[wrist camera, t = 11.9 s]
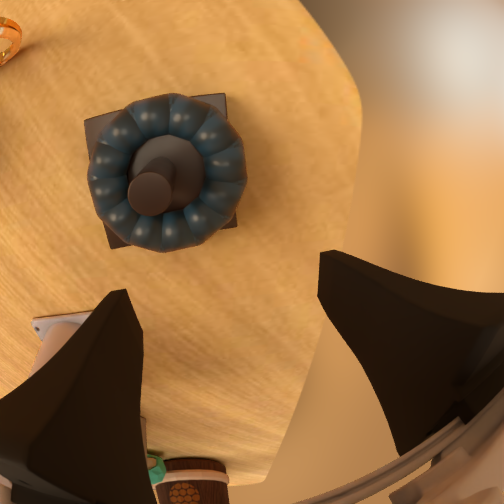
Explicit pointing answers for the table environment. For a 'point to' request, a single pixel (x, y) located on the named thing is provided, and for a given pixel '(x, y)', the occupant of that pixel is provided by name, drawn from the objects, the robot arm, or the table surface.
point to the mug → (193, 482)
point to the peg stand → (160, 170)
